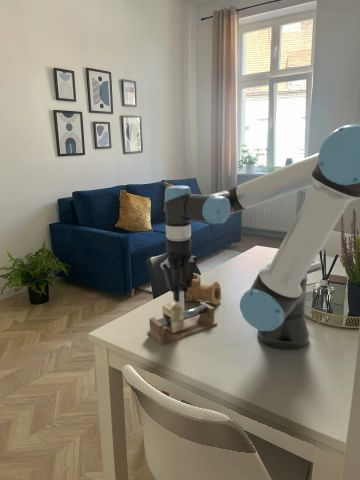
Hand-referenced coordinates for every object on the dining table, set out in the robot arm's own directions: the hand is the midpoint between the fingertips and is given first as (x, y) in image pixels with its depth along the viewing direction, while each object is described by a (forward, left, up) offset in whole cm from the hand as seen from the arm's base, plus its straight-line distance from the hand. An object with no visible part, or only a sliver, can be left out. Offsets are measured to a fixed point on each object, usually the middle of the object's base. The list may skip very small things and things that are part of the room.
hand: (180, 309), depth 115 cm
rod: (0, -1, -4) cm, 4 cm away
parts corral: (+18, -79, -7) cm, 81 cm away
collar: (0, +3, -5) cm, 6 cm away
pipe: (+14, -17, -7) cm, 23 cm away
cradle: (0, -1, -7) cm, 7 cm away
